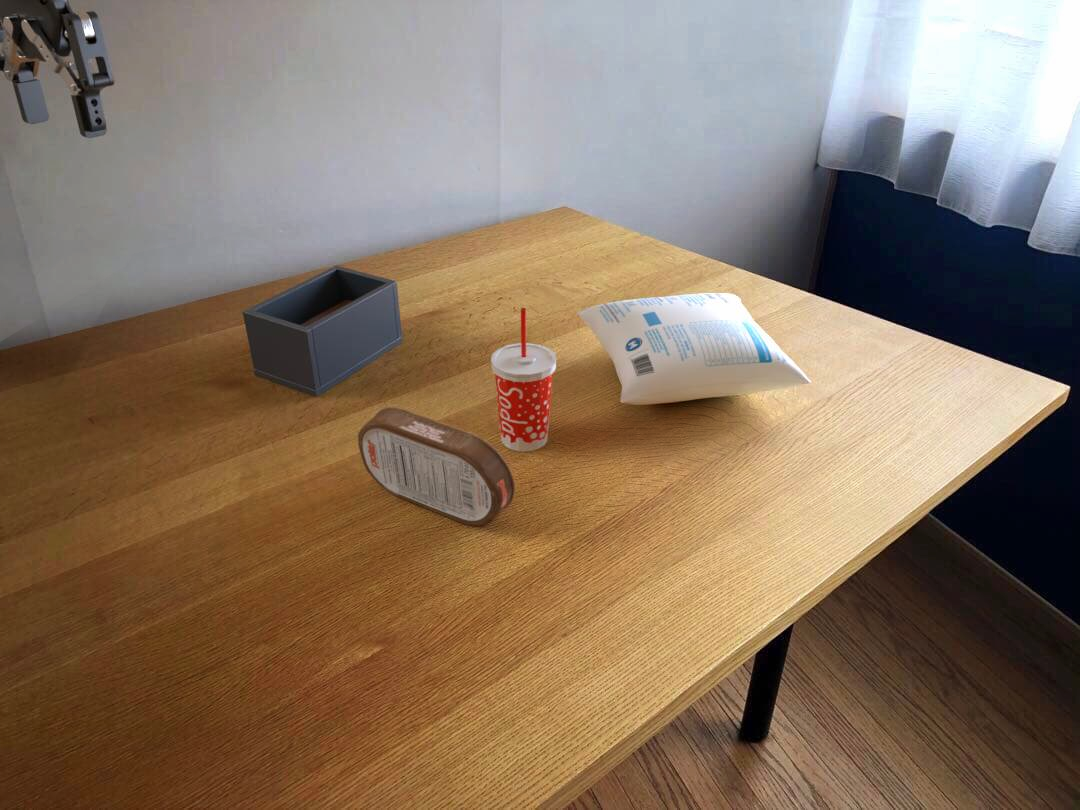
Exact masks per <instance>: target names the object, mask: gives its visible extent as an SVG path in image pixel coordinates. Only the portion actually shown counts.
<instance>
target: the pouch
mask: <svg viewBox="0 0 1080 810" xmlns="http://www.w3.org/2000/svg"><path fill="white" fill-rule="evenodd" d="M576 314H577V315H578V316H579V318H580V319H581V320H582V321H583V323H584V324H585V325H586V326H587V328H588V329H589V330H590V331H591V332H592V334H593V335H594V336H595V337H596V339H597V340H598V342H599V343H600V346H601V347H602V348H603V350H604V351H605V353H606V355H607V356H608V357H609V358H610V359H611V361H612V362H613V365H614V368H615V372H616V375H617V377H618V379H619V382H620V384H621V393H620V397H619V402H620V403H622V404H627V405H633V406H643V405H645V406H647V405H656V404H657V405H659V404H668V403H678V402H685V401H686V402H687V401H693V400H701V399H708V398H709V399H710V398H719V397H733V396H735V397H736V396H742V395H750V394H759V393H760V394H761V393H768V392H775V391H781V390H788V389H793V388H796V387H802V386H805V385H808V384H811V383H812V381H811V379H809V378H808V376H807V375H806V374H805V373H804V372H803V371H802V370H801V369H800V368H799V367H798V365H797V364H795V362H794V361H793V360H792V359H791V358H790V357H789V356H788V355H787V354H786V353H785V351H783V350H782V349H781V347H780V346H778V344H777V343H776V342H775V341H774V340H773V339H772V337H770V335H768V333H766V332H765V331H764V330H763V328H761V326H759V324H757V323H756V321H754V319H753V318H752V316H751V314H750V313H749V312H748V310H747V309H746V307H745V306H744V304H742V302H741V298H739V297H738V296H737V295H736V294H732V293H725V292H708V293H706V292H705V293H704V292H702V293H688V294H679V295H678V294H677V295H669V296H668V295H667V296H655V297H654V296H653V297H642V298H641V297H640V298H634V299H625V300H618V301H617V300H616V301H611V302H606V303H600V304H596V305H592V306H589V307H587V308H584V309H582V310H579V311H577V312H576Z"/></svg>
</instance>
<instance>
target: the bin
mask: <svg viewBox="0 0 1080 810" xmlns="http://www.w3.org/2000/svg"><path fill="white" fill-rule="evenodd" d="M398 289H399V288H398V281H397V280H393V279H389V278H385V277H381V276H378V275H373V274H369V273H367V272H364V271H363V272H362V271H359V270H355V269H351V268H348V267H344V266H340V265H334V266H332V267H330V268H328V269H326V270H324V271H322V272H320V273H318V274H315V275H314V276H312V277H309V278H308V279H306V280H304V281H302V282H299V283H298V284H295V285H294V286H291V287H290V288H287V289H285V290H283V291H281V292H279V293H277V294H275V295H273V296H271V297H269V298H267V299H265V300H263V301H260V302H259V303H256V304H255V305H252V306H251V307H248V308H247V309H245V310H243V311H242V316H243V322H244V327H245V332H246V336H247V337H246V338H247V342H248V347H249V352H250V358H251V362H252V363H251V364H252V367H253V373H254V376H256V377H259V378H262V379H264V380H266V381H269V382H273V383H276V384H278V385H280V386H284V387H286V388H289V389H291V390H295V391H297V392H301V393H304V394H306V395H308V396H312V397H314V398H317V397H319V396H320V395H322V394H324V393H326V392H327V391H328V390H330V389H331V388H333V387H334V386H336V385H338V384H339V383H341V382H343V381H344V380H345V379H347V378H349V377H350V376H352V375H353V374H355V373H357V372H358V371H359V370H361V369H363V368H364V367H366V366H368V365H369V364H371V363H372V362H374V361H375V360H378V358H380V357H382V356H384V355H385V354H386V353H388V352H390V351H392V350H393V349H394V348H396V347H397V346H399V345H401V344H402V343H403V333H402V323H401V313H400V312H401V311H400V302H399V301H400V300H399V290H398ZM345 300H351V301H353V302H351V303H349V304H347V305H345V306H343V307H342V308H340V309H338V310H336V311H334V312H332V313H331V314H329V315H327V316H325V317H323V318H321V319H320V320H318V321H316V322H314V323H312V324H310V325H309V326H307V327H304V326H301V324H302V323H304V322H306V321H308V320H310V319H312V318H313V317H315V316H317V315H319V314H321V313H323V312H325V311H326V310H328V309H330V308H332V307H334V306H336V305H337V304H339V303H341V302H343V301H345Z"/></svg>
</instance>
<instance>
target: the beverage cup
mask: <svg viewBox="0 0 1080 810" xmlns="http://www.w3.org/2000/svg"><path fill="white" fill-rule="evenodd" d="M490 365H491V370H492V372H493V374H494V379H495V380H494V381H495V391H496V402H497V412H498V422H499V431H500V432H499V433H500V441H501V443H502V444H503V446H504V447H506V448H508V449H509V450H511V451H516V452H532V451H537V450H539V449H540V448H542V447H544V446H546V443H547V442H548V439H549V438H548V437H549V426H550V425H549V424H550V415H551V414H550V412H551V399H552V391H553V389H552V387H553V376H554V372H555V371H556V370H557V355H556V353H555V352H554V351H553V350H552V349H551V348H548V347H546V346H544V345H543V344H536V343H531V342H528V343H527V309H526V307H521V308H520V342H516V343H512V344H506V345H504V346H501V347H499V348H498V349H496V350H495V351H494V352H493V353H492V354H491V359H490Z"/></svg>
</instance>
